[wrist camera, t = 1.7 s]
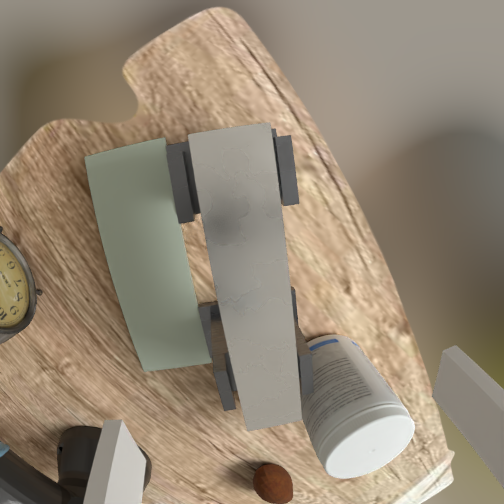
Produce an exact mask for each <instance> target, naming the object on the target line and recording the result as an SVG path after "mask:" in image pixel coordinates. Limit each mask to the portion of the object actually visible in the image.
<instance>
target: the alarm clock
mask: <svg viewBox="0 0 504 504" xmlns="http://www.w3.org/2000/svg"><path fill="white" fill-rule="evenodd" d="M2 230H3V228H2V227H1V226H0V344H1V343H4V342H6V341H7V340H9V339H10V338H12V337H13V336H15V335H16V334H17V333H19V332H20V331H22V330H23V329H25V328H26V327H27V326H28V325H29V324H30V322H31V321H32V319H33V316H34V314H35V310H36V304H37V295H36V294H38V295H42V290H36V287H35V282H34V279H33V276H32V273H31V270H30V268H29V265H28V263H27V262H26V260H25V258H24V257H23V255H22V254H21V252H20V251H19V249H18V248H17V247H16V246H15V245H14V244H13V243H12V242H11V241H10V240H9V239H8V238H7V237H6V236H4V235H3V234H2V233H1V232H2Z"/></svg>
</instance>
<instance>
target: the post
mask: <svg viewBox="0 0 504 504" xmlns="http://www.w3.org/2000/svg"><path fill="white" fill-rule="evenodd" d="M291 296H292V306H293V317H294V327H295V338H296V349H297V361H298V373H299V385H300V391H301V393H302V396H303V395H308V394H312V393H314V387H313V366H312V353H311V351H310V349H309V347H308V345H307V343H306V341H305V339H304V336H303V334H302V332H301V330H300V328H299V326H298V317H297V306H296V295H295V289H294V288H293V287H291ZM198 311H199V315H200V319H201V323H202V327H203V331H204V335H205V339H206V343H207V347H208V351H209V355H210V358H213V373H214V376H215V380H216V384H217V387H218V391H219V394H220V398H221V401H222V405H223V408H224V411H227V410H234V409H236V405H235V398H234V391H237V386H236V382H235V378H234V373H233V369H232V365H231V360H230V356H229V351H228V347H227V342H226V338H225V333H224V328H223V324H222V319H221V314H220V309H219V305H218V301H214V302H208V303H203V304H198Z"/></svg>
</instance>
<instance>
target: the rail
mask: <svg viewBox="0 0 504 504" xmlns="http://www.w3.org/2000/svg"><path fill="white" fill-rule="evenodd" d="M188 139H189V145H190V152H191V158H192V164H193V170H194V176H195V182H196V188H197V194H198V200H199V205H200V211H201V217H202V222H203V228H204V233H205V239H206V244H207V249H208V255H209V260H210V265H211V270H212V275H213V280H214V285H215V290H216V295H217V300H218V305H219V309H220V314H221V319H222V324H223V328H224V333H225V338H226V342H227V347H228V351H229V356H230V360H231V365H232V369H233V373H234V378H235V382H236V386H237V390H238V395H239V399H240V403H241V407H242V411H243V415H244V419H245V423H246V427H247V431H252V430H258V429H263V428H268V427H273V426H278V425H283V424H287V423H292V422H296V421H300V420H302V412H301V398H300V385H299V373H298V361H297V349H296V338H295V327H294V317H293V306H292V296H291V287H290V277H289V268H288V259H287V250H286V241H285V232H284V224H283V215H282V207H281V199H280V191H279V183H278V176H277V168H276V161H275V153H274V146H273V139H272V132H271V125H270V123H261V124H253V125H245V126H238V127H231V128H224V129H217V130H211V131H205V132H199V133H193V134H188Z"/></svg>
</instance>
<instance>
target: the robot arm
mask: <svg viewBox="0 0 504 504" xmlns="http://www.w3.org/2000/svg"><path fill="white" fill-rule="evenodd" d="M432 397H433V398H434V400H435V401H436V402H437V403H438V405H439V406H440V407H441V408H442V410H443V411H444V412H445V413H446V414H447V416H448V417H449V418H450V419H451V421H452V422H453V423H454V424H455V426H456V427H457V428H458V429H459V431H460V432H461V433H462V434H463V436H464V437H465V438H466V440H467V441H468V442H469V443H470V445H471V446H472V447H473V448H474V450H475V451H476V452H477V454H478V455H479V456H480V458H481V459H482V460H483V461H484V463H485V464H486V465H487V467H488V468H489V469H490V471H491V472H492V473H493V475H494V476H495V477H496V479H497V480H498V481H499V483H500V484H501V485H502V487H503V488H504V390H503V389H502V388H501V387H500V386H499V385H498V384H497V383H496V382H495V381H494V380H493V379H492V378H491V377H490V376H489V375H488V374H487V373H486V372H484V371H483V370H482V369H481V368H480V367H479V366H478V365H477V364H476V363H475V362H474V361H473V360H471V359H470V358H469V357H468V356H467V355H466V354H465V353H464V352H463V351H462V350H461V349H459V348H458V347H457V346H456V345H455V346H453V347H451V348H448V349H446V350H443V353H442V357H441V362H440V367H439V370H438V375H437V379H436V383H435V386H434V390H433V394H432ZM57 460H58V476H59V480H58V483H56V482H54V481H53V480H51V479H50V478H48V477H47V476H45V475H44V474H43V473H41V472H40V471H38V470H37V469H35V468H34V467H33V466H31V465H30V464H28V463H27V462H26V461H24V460H23V459H22V458H21V457H19V456H18V455H17V454H16V453H14V452H13V451H12V450H11V449H10V447H9V446H8V445H7V444H4V443H2V442H1V441H0V504H142V494H143V492H144V490H145V488H146V486H147V485H148V483H149V481H150V478H151V468H152V465H151V461H150V459H149V457H148V456H147V454H146V453H145V452H144V451H143V450H142V449H141V448H140V447H139V446H137V444H136V443H135V441H134V439H133V438H132V436H131V434H130V433H129V431H128V429H127V427H126V426H125V424H124V422H123V420H105V422H104V425H103V428H102V429H99V428H94V427H74V428H70V429H68V430H66V431H65V432H64V433H63V434H62V436H61V438H60V441H59V443H58V447H57Z"/></svg>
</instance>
